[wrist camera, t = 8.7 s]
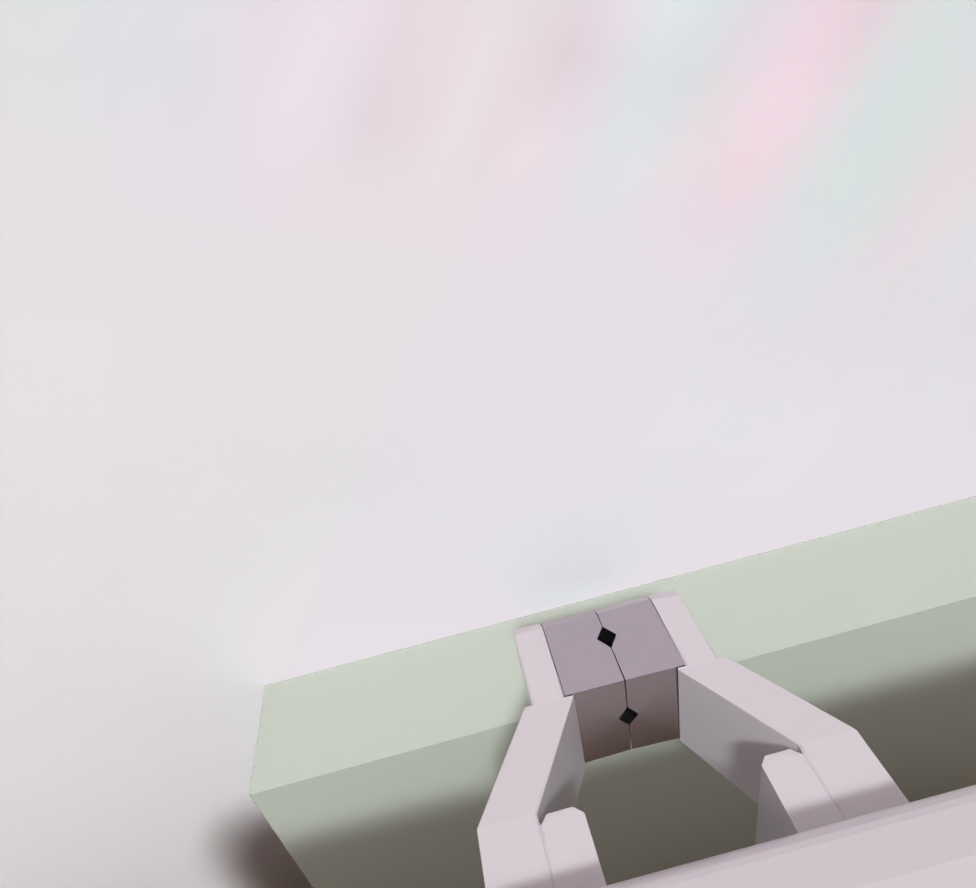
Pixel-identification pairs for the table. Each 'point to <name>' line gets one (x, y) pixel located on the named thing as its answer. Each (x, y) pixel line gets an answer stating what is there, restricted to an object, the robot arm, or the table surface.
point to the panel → (637, 772)
